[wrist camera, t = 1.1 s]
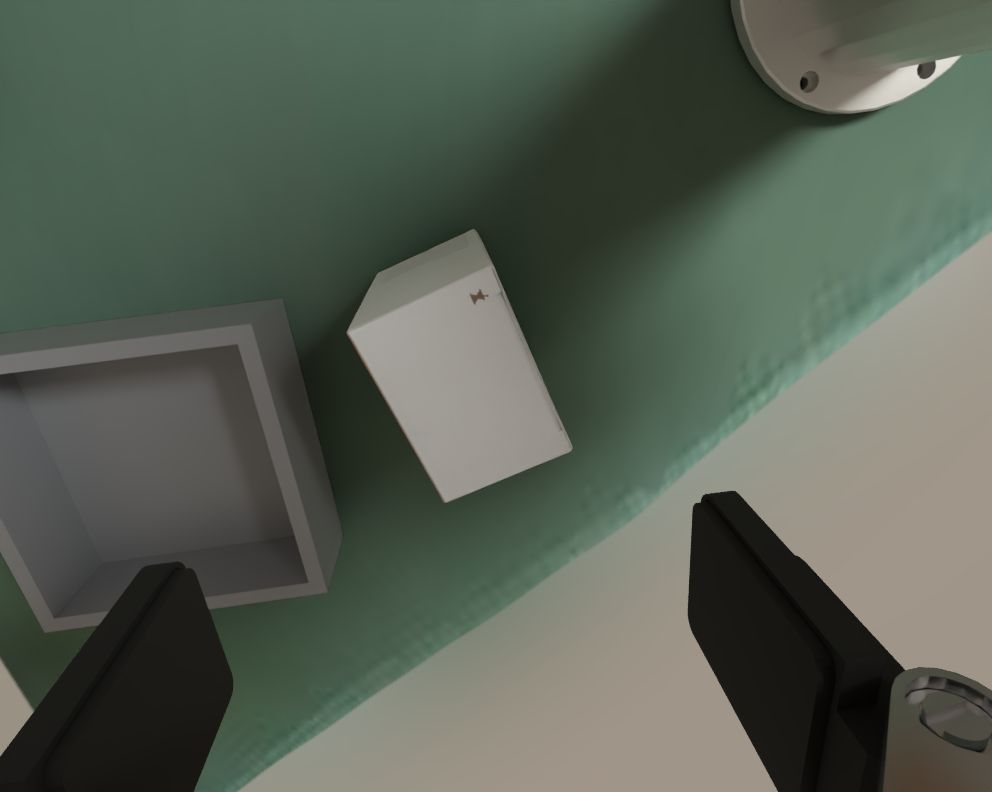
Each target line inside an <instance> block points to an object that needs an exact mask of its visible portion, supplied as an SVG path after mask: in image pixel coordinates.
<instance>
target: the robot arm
mask: <svg viewBox="0 0 992 792" xmlns="http://www.w3.org/2000/svg"><path fill="white" fill-rule="evenodd" d="M731 11H732V15H733V19H734V23H735V27H736V31H737V35H738V39H739V41H740V43H741V45H742V47H743V49H744V51H745V54H746V56H747V58H748V60H749V62H750V64H751V65H752V67H753V68H754V69H755V71H756V72H757V73H758V74H759V76H760V77H761V78H762V80H763V81H764V82H765V84H767V85H768V86H769V87H770V88H771V89H772V90H774V91H775V92H776V93H777V94H778V95H780V96H781V97H782V98H783V99H785V100H787V101H789V102H791V103H793V104H795V105H797V106H799V107H801V108H803V109H806V110H811V111H815V112H820V113H824V114H854V113H860V112H866V111H874V110H877V109H880V108H883V107H886V106H889V105H893V104H896V103H899V102H901V101H903V100H905V99H906V98H908V97H910V96H912V95H914V94H916V93H917V92H919V91H921V90H923V89H925V88H926V87H927V86H929V85H930V84H931V83H932V82H934V81H935V80H936V79H938V78H939V77H940V76H942V75H943V74H944V73H945V72H947V71H948V70H949V69H950V68H951V67H952V66H953V65H954V64H955V63H956V62H957V61H958V60H959V59H960V58H961V57H962V56H963V55H966V54H970V53H975V52H980V51H985V50H990V49H992V0H731ZM801 80H802V83H803V85H802V88H800V81H801ZM688 598H689V599H688V619H689V624H690V628H691V630H692V633H693V635H694V637H695V638H696V640H697V642H698V644H699V646H700V648H701V650H702V651H703V653H704V655H705V657H706V659H707V660H708V663H709V664H710V666H711V668H712V670H713V671H714V674H715V676H716V677H717V679H718V681H719V683H720V685H721V687H722V688H723V690H724V692H725V694H726V696H727V698H728V699H729V701H730V703H731V705H732V707H733V709H734V711H735V713H736V714H737V716H738V718H739V720H740V722H741V724H742V726H743V727H744V729H745V731H746V733H747V735H748V737H749V738H750V740H751V742H752V744H753V746H754V748H755V749H756V752H757V753H758V755H759V757H760V759H761V761H762V763H763V765H764V766H765V768H766V770H767V772H768V774H769V776H770V778H771V779H772V781H773V783H774V785H775V787H776V788H777V791H778V792H992V691H991V690H990V689H988V688H987V687H985V686H983V685H982V684H980V683H978V682H976V681H974V680H972V679H970V678H967V677H965V676H963V675H960V674H958V673H954V672H951V671H946V670H943V669H938V668H925V667H924V668H923V667H918V668H914V669H909V670H904V669H903V667H902V666H901V665H900V664H899V663H898V662H897V661H896V660H895V659H894V658H893V656H892V655H891V654H890V653H889V652H888V651H887V650H886V649H885V648H884V647H883V646H882V645H881V644H880V642H879V641H878V640H877V639H876V638H875V637H874V636H873V635H872V634H871V633H870V632H869V631H868V629H867V628H866V627H865V626H864V625H863V624H862V623H861V622H860V621H859V620H858V619H857V617H855V615H854V614H853V613H852V612H851V611H850V610H849V609H848V608H847V607H846V606H845V604H843V602H842V601H841V600H840V599H839V598H838V597H837V596H836V595H835V594H834V593H833V592H832V590H831V589H830V588H829V587H828V586H827V585H826V584H825V583H824V582H823V581H822V580H821V578H820V577H819V576H818V575H817V574H816V573H815V572H814V571H813V570H812V569H811V568H810V567H809V566H808V564H807V563H806V562H805V561H803V560H802V559H801V558H800V557H798V556H795V555H794V554H793V553H792V552H791V551H790V550H789V549H788V548H787V546H786V545H785V544H784V543H783V542H782V541H781V540H780V539H779V538H778V537H777V536H776V534H775V533H774V532H773V531H772V530H771V529H770V528H769V527H768V526H767V525H766V523H765V522H764V521H763V520H762V519H761V518H760V517H759V516H758V515H757V514H756V512H755V511H753V509H752V508H751V507H750V506H749V505H748V504H747V502H746V501H745V500H744V499H743V498H742V497H741V496H740V495H739V494H738V493H737V492H736V491H727V492H720V493H711V494H705V495H703V497H702V499H701V503H696V504H695V505H694V506H693V514H692V536H691V555H690V576H689V596H688ZM232 691H233V677H232V673H231V670H230V667H229V665H228V662H227V659H226V656H225V654H224V651H223V648H222V645H221V642H220V640H219V637H218V634H217V631H216V628H215V626H214V623H213V620H212V617H211V614H210V612H209V609H208V606H207V603H206V600H205V598H204V595H203V592H202V589H201V586H200V584H199V581H198V578H197V575H196V573H195V571H194V570H193V569H192V568H186V567H185V565H184V564H183V563H182V562H178V561H177V562H169V563H161V564H153V565H147V566H144V567H143V568H142V569H141V570H140V571H139V572H138V574H137V575H136V576H135V578H134V579H133V580H132V582H131V583H130V584H129V586H128V587H127V588H126V590H125V591H124V592H123V594H122V595H121V596H120V598H119V599H118V600H117V602H116V603H115V604H114V606H113V607H112V608H111V610H110V611H109V612H108V614H107V615H106V616H105V618H104V619H103V620H102V622H101V623H100V624H99V626H98V627H97V628H96V630H95V631H94V632H93V634H92V635H91V636H90V638H89V639H88V640H87V642H86V643H85V644H84V646H83V647H82V648H81V650H80V651H79V652H78V654H77V655H76V656H75V658H74V659H73V660H72V662H71V663H70V664H69V666H68V667H67V668H66V670H65V671H64V672H63V674H62V675H61V676H60V678H59V679H58V680H57V682H56V683H55V684H54V686H53V687H52V688H51V690H50V691H49V692H48V694H47V695H46V696H45V698H44V699H43V700H42V702H41V703H40V704H39V706H38V707H37V708H36V710H35V711H34V712H33V714H32V715H31V716H30V718H29V719H28V721H27V722H26V723H25V724H24V726H23V727H22V728H21V730H20V731H19V732H18V734H17V735H16V737H15V738H14V739H13V740H12V742H11V743H10V744H9V746H8V747H7V749H6V750H5V751H4V752H3V754H2V755H1V756H0V792H194V790H195V787H196V785H197V782H198V780H199V777H200V774H201V772H202V769H203V767H204V764H205V762H206V759H207V757H208V754H209V752H210V749H211V747H212V744H213V742H214V739H215V737H216V734H217V732H218V729H219V727H220V724H221V722H222V719H223V717H224V714H225V712H226V709H227V707H228V704H229V701H230V699H231V696H232Z"/></svg>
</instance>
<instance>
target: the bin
mask: <svg viewBox="0 0 992 792" xmlns="http://www.w3.org/2000/svg"><path fill="white" fill-rule="evenodd" d="M343 536H344V535H343V531H342V527H341V523H340V519H339V515H338V512H337V508H336V504H335V500H334V496H333V492H332V488H331V484H330V480H329V477H328V473H327V469H326V465H325V461H324V457H323V453H322V449H321V446H320V442H319V438H318V434H317V430H316V426H315V422H314V418H313V415H312V411H311V407H310V403H309V399H308V395H307V391H306V387H305V383H304V380H303V376H302V372H301V368H300V364H299V360H298V356H297V352H296V349H295V345H294V341H293V337H292V333H291V329H290V325H289V321H288V318H287V314H286V310H285V306H284V302H283V298H279V299H271V300H263V301H255V302H247V303H239V304H231V305H223V306H215V307H207V308H199V309H191V310H183V311H175V312H167V313H159V314H151V315H143V316H135V317H128V318H120V319H112V320H104V321H96V322H88V323H80V324H72V325H64V326H56V327H48V328H40V329H32V330H24V331H16V332H8V333H0V552H1V554H2V556H3V558H4V559H5V561H6V563H7V565H8V567H9V568H10V570H11V572H12V574H13V576H14V578H15V579H16V581H17V583H18V585H19V587H20V589H21V590H22V592H23V594H24V596H25V598H26V600H27V601H28V603H29V605H30V607H31V609H32V611H33V612H34V614H35V616H36V618H37V620H38V622H39V623H40V625H41V627H42V629H43V631H44V633H48V632H55V631H62V630H69V629H76V628H83V627H90V626H97V625H99V624H100V623H101V622H102V620H103V619H104V618H105V616H106V615H107V614H108V612H109V611H110V610H111V608H112V607H113V606H114V604H115V603H116V602H117V600H118V599H119V598H120V596H121V595H122V594H123V592H124V591H125V590H126V588H127V587H128V586H129V584H130V583H131V582H132V580H133V579H134V578H135V576H136V575H137V574H138V572H139V571H140V570H141V569H142V568H143V567H144V566H147V565H153V564H161V563H169V562H177V561H178V562H182V563H183V564H184V565H185V567H186V568H192V569H193V570H194V571H195V573H196V575H197V578H198V581H199V584H200V586H201V589H202V592H203V595H204V598H205V600H206V603H207V606H208V609H209V610H210V609H217V608H224V607H231V606H238V605H245V604H252V603H259V602H266V601H273V600H280V599H287V598H294V597H301V596H309V595H316V594H323V593H328V590H329V586H330V582H331V579H332V575H333V572H334V568H335V564H336V561H337V557H338V554H339V550H340V546H341V543H342V539H343Z"/></svg>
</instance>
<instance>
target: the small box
mask: <svg viewBox="0 0 992 792" xmlns="http://www.w3.org/2000/svg"><path fill="white" fill-rule="evenodd" d="M347 335H348V337H349V339H350V340H351V342H352V344H353V346H354V347H355V349H356V351H357V353H358V354H359V356H360V358H361V360H362V361H363V363H364V365H365V366H366V368H367V370H368V372H369V373H370V375H371V377H372V378H373V380H374V382H375V384H376V385H377V387H378V389H379V391H380V392H381V394H382V396H383V398H384V399H385V401H386V403H387V405H388V406H389V408H390V410H391V411H392V413H393V415H394V417H395V418H396V420H397V422H398V424H399V425H400V427H401V429H402V431H403V432H404V434H405V436H406V438H407V439H408V441H409V443H410V444H411V446H412V448H413V450H414V451H415V453H416V455H417V457H418V458H419V460H420V462H421V464H422V465H423V467H424V469H425V471H426V472H427V474H428V476H429V478H430V479H431V481H432V483H433V485H434V486H435V488H436V490H437V491H438V493H439V495H440V497H441V499H442V501H443V503H447V502H449V501H452V500H454V499H456V498H459V497H461V496H464V495H466V494H469V493H471V492H474V491H476V490H479V489H481V488H483V487H486V486H488V485H490V484H493V483H495V482H498V481H500V480H503V479H505V478H507V477H510V476H512V475H515V474H517V473H520V472H522V471H525V470H527V469H529V468H532V467H534V466H537V465H539V464H542V463H544V462H547V461H549V460H551V459H554V458H556V457H559V456H561V455H564V454H566V453H569V452H570V451H571V450H572V444H571V442H570V440H569V437H568V435H567V433H566V431H565V429H564V426H563V424H562V422H561V420H560V418H559V415H558V413H557V411H556V409H555V406H554V404H553V402H552V400H551V397H550V395H549V393H548V391H547V388H546V386H545V384H544V381H543V379H542V377H541V374H540V372H539V370H538V368H537V365H536V363H535V361H534V358H533V356H532V354H531V351H530V349H529V347H528V344H527V342H526V340H525V338H524V335H523V333H522V331H521V328H520V326H519V324H518V321H517V319H516V317H515V314H514V312H513V310H512V307H511V305H510V303H509V300H508V298H507V296H506V293H505V291H504V289H503V286H502V284H501V282H500V279H499V277H498V275H497V272H496V270H495V267H494V265H493V264H492V261H491V259H490V257H489V255H488V253H487V251H486V248H485V246H484V244H483V242H482V240H481V239H480V236H479V235H478V233H477V231H476V230H475V229H472V230H470V231H468V232H466V233H464V234H462V235H459V236H457V237H455V238H453V239H451V240H448V241H446V242H444V243H442V244H440V245H437V246H435V247H433V248H431V249H429V250H427V251H424V252H422V253H420V254H418V255H416V256H414V257H411V258H409V259H407V260H405V261H403V262H401V263H398V264H396V265H394V266H392V267H390V268H388V269H386V270H383V271H381V272H379V273H378V274H377V275H376V277H375V279H374V281H373V283H372V284H371V286H370V288H369V290H368V292H367V294H366V296H365V298H364V300H363V302H362V303H361V305H360V307H359V309H358V311H357V313H356V314H355V316H354V319H353V321H352V323H351V324H350V326H349V328H348V331H347Z"/></svg>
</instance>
